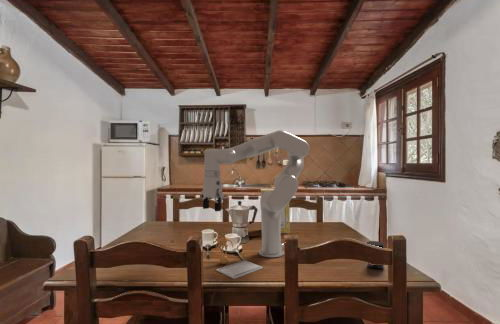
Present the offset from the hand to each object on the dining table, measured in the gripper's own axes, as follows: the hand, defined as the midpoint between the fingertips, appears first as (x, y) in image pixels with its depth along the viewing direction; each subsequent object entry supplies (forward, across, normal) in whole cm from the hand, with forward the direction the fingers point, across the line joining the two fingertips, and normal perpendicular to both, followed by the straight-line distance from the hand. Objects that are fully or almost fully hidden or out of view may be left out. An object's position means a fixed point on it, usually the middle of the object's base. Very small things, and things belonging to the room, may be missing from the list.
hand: (211, 209), depth 137 cm
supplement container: (+22, -60, -44) cm, 78 cm away
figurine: (+24, -9, -1) cm, 26 cm away
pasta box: (+23, +13, -61) cm, 67 cm away
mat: (+23, -20, 0) cm, 31 cm away
